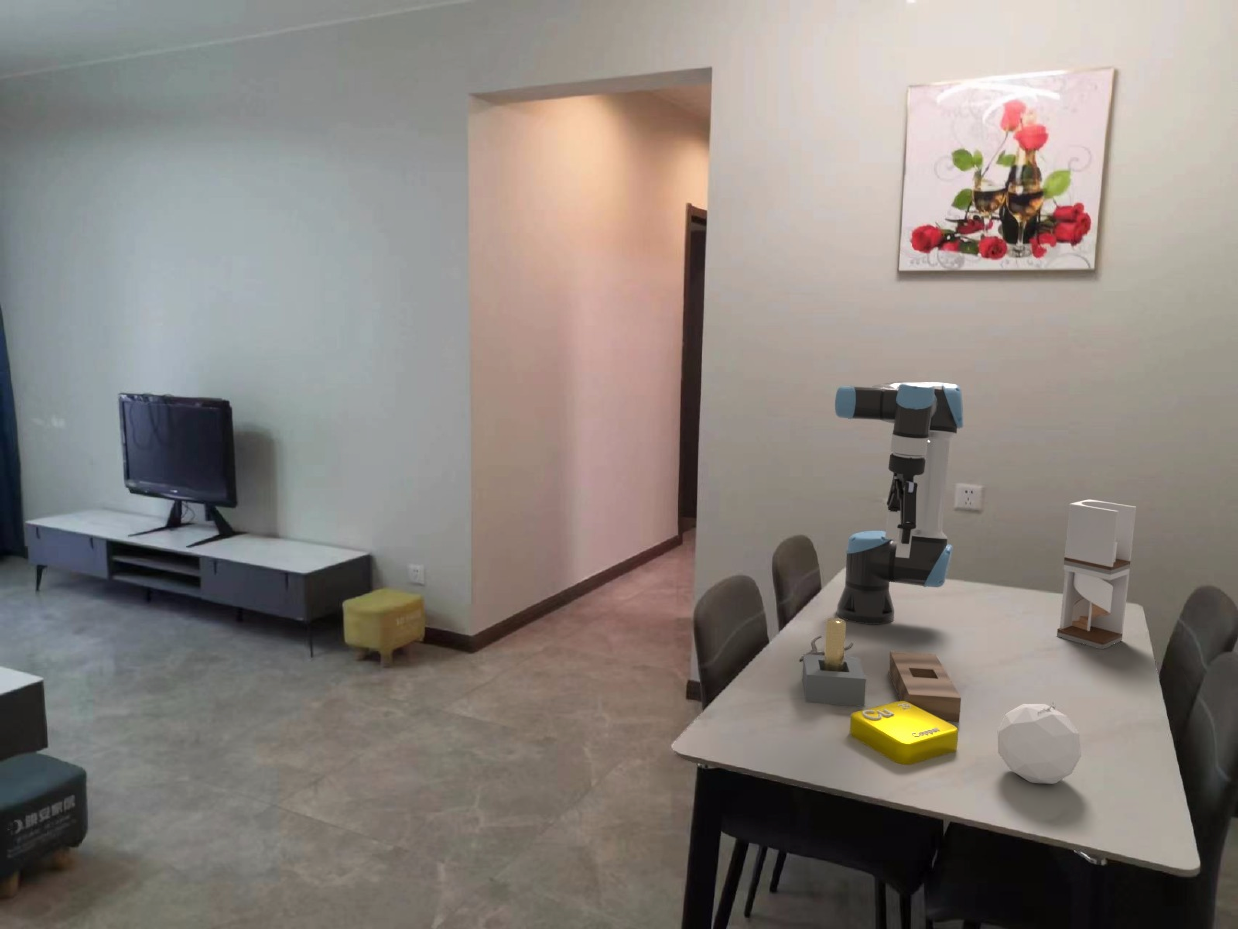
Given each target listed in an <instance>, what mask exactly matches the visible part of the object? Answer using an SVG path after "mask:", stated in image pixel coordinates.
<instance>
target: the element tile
mask: <svg viewBox="0 0 1238 929" xmlns="http://www.w3.org/2000/svg"><path fill="white" fill-rule="evenodd" d="M849 728H850V729H849V734H850V736H851V737H853V738H854V739H856V740H857V741H858V742H861V743H862V744H864V745H865V746H868V747H869V748H871V749H873V750H874V751H876V752H877V753H879V754H881V755H882V756H884V757H886V758H887V759H889V760H891V761H893V762H894V763H896V764H900V765H914V764H916V763H920V762H923V761H924V762H925V761H926V760H931V759H934V758H938V757H940V756H941V757H942V756H944V755H948V754H951V753H955V752H956V751H957V749H958V742H959V741H958V740H959V728H957V727H956V725H954V724H952V723H950V722H949V721H945V720H942V719H940V718H938V717H936V716H934V715H932V714H930V713H928V712H926V711H924V710H922V709H920V708H918V707H916V706H914V705H912V704H910V703H908V702H905V701H900V700H899V701H894V702H889V703H885V704H881V705H878V706H873V707H870V708H865V709H861V710H857V711H854V712H852V713H851V714H850V726H849Z"/></svg>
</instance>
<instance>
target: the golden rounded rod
mask: <svg viewBox="0 0 1238 929" xmlns="http://www.w3.org/2000/svg"><path fill="white" fill-rule="evenodd" d="M825 625H826V626H825V641H824V642H825V643H824V645H825V646H824V652H825V659H824V671H837V672H843V664H844V657H845V651H844V648H845V646H846V645H845V643H846V628H847V627H846V625H847V621H845V619H843V618H838V617H837V618H835V617H834V618H833V617H831V618H826V624H825Z"/></svg>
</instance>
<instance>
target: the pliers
mask: <svg viewBox="0 0 1238 929" xmlns="http://www.w3.org/2000/svg"><path fill="white" fill-rule="evenodd" d="M821 638H823V637H822V635H818V636H815V638H813V639H812V640H811V643H810V644H811V647H812V649H811V650H810V651H808V652H806V653H805V654H809V655H824V656H825V651H818V647H817V646H816V644H815V643H816V641H817V640H819V639H821ZM853 644H854V643H853V642H851V643H850V644H849V645H847V646H846V647H845V646H844V652H845V651H847V650H849V649H852V647H853V646H854V645H853ZM802 662H803V655H802V656H801V657H800V658H799V663H802Z"/></svg>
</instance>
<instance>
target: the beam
mask: <svg viewBox="0 0 1238 929" xmlns="http://www.w3.org/2000/svg"><path fill="white" fill-rule="evenodd" d="M888 663H889V665H888V673H889V676H890V679H891V680H892V683H893V686H894V687H895V690H896V694H897V696H898V699H899V701H905V702H908V703H910V704H912V705H914V706H916V707H918V708H920V709H922V710H924V711H926V712H928V713H930V714H932V715H934V716H936V717H938V718H940V719H942V720H944V721H946V722H960V717H961V716H960V715H961V705H962V704H961V701H962V697H961V695H960V694H959V692H958V690H957V688H956V687H955V685H954V683H953V681H952V680H951V678H950V677H949V675H948V673H947V671H946V670H945V668H944V666H943V665H942V663H941V661H940V660H939V657H938V656H937V655H936V654H930V653H916V652H901V651H889V662H888Z"/></svg>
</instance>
